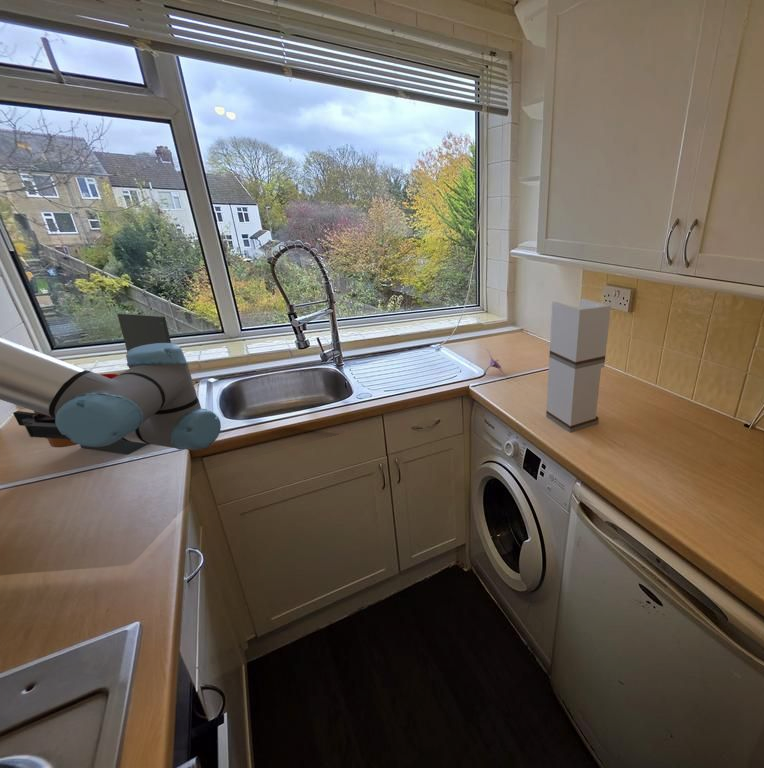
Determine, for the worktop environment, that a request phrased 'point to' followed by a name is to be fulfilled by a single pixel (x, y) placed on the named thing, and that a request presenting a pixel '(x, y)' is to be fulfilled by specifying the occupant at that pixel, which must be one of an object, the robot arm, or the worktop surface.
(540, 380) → the worktop surface
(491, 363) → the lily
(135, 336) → the bin lid
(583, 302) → the white tall square block
